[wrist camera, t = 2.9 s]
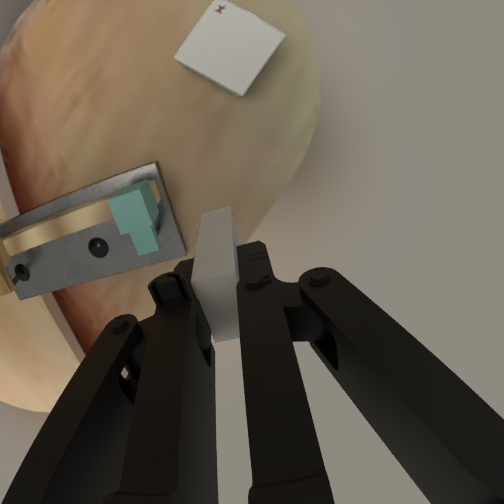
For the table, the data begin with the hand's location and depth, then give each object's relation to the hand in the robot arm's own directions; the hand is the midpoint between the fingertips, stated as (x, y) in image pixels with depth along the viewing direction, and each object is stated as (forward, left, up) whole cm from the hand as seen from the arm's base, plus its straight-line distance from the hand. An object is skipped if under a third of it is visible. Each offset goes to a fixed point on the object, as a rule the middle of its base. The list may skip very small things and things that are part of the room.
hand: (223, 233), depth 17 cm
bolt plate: (-18, -2, -16) cm, 24 cm away
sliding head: (-8, -1, -14) cm, 16 cm away
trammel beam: (-18, -1, -15) cm, 23 cm away
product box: (+3, +11, -16) cm, 19 cm away
